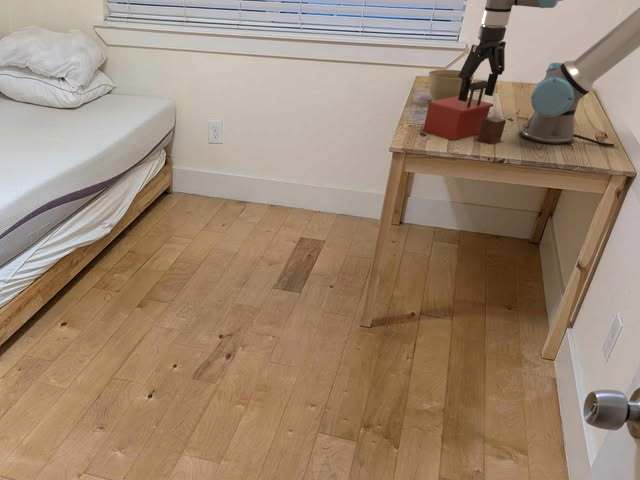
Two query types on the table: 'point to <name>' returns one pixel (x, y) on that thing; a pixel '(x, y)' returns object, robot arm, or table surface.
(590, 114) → the table surface
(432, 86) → the planter bowl
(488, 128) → the block
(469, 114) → the chest
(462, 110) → the lid
